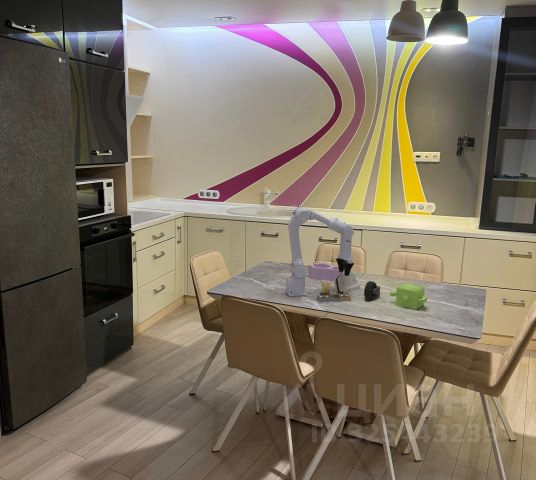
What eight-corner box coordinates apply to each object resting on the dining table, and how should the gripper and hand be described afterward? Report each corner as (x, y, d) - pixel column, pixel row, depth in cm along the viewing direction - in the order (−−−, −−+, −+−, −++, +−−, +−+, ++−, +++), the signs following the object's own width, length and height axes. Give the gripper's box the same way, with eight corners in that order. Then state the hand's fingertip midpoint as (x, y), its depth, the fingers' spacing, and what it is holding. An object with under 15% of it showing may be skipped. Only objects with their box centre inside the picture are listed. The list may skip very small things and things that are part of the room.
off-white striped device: (343, 294, 254) (339, 275, 255) (336, 295, 257) (331, 276, 258) (360, 287, 267) (356, 269, 267) (353, 289, 270) (349, 271, 270)
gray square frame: (322, 297, 248) (322, 295, 248) (319, 294, 253) (319, 292, 252) (331, 297, 249) (331, 294, 249) (328, 294, 254) (328, 292, 253)
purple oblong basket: (346, 278, 285) (346, 267, 283) (336, 283, 274) (336, 271, 273) (315, 273, 296) (316, 261, 294) (305, 277, 286) (305, 265, 284)
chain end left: (320, 302, 240) (320, 298, 240) (316, 298, 246) (316, 294, 246) (340, 301, 243) (340, 297, 242) (336, 297, 248) (336, 293, 248)
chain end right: (331, 301, 242) (331, 297, 241) (326, 297, 248) (327, 293, 247) (351, 300, 244) (351, 296, 244) (346, 296, 250) (346, 292, 250)
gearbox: (385, 304, 241) (385, 286, 239) (394, 299, 248) (395, 281, 246) (420, 312, 229) (421, 293, 227) (429, 306, 237) (430, 287, 235)
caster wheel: (371, 304, 243) (384, 294, 254) (372, 285, 240) (384, 276, 252) (361, 301, 246) (373, 292, 257) (361, 283, 243) (374, 274, 255)
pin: (323, 297, 249) (323, 284, 247) (320, 295, 252) (321, 282, 251) (330, 296, 249) (330, 283, 248) (327, 294, 253) (328, 281, 252)
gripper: (358, 250, 247) (356, 277, 250) (347, 245, 261) (345, 270, 264) (345, 251, 246) (343, 277, 248) (334, 245, 260) (333, 270, 262)
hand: (343, 273), depth 256 cm, fingers open, 7 cm apart
